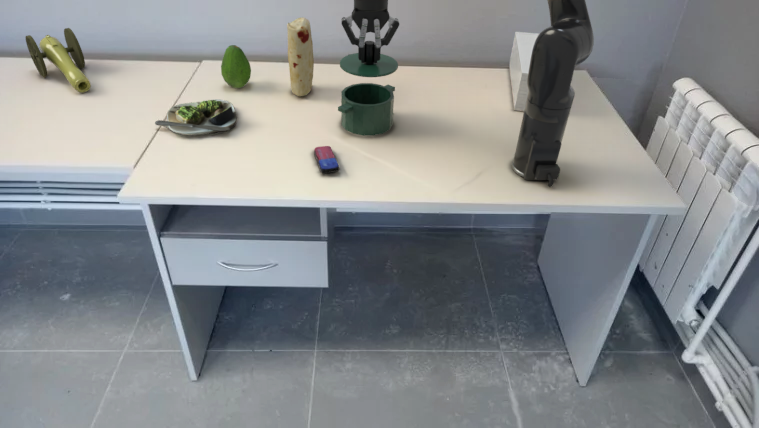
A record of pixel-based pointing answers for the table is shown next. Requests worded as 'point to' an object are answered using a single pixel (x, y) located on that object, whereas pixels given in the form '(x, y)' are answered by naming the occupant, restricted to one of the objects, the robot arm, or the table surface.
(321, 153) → the eraser
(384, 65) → the lid
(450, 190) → the table surface
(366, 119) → the pot
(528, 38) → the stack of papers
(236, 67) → the avocado
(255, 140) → the table surface
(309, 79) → the food model
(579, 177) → the table surface
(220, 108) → the salad plate
